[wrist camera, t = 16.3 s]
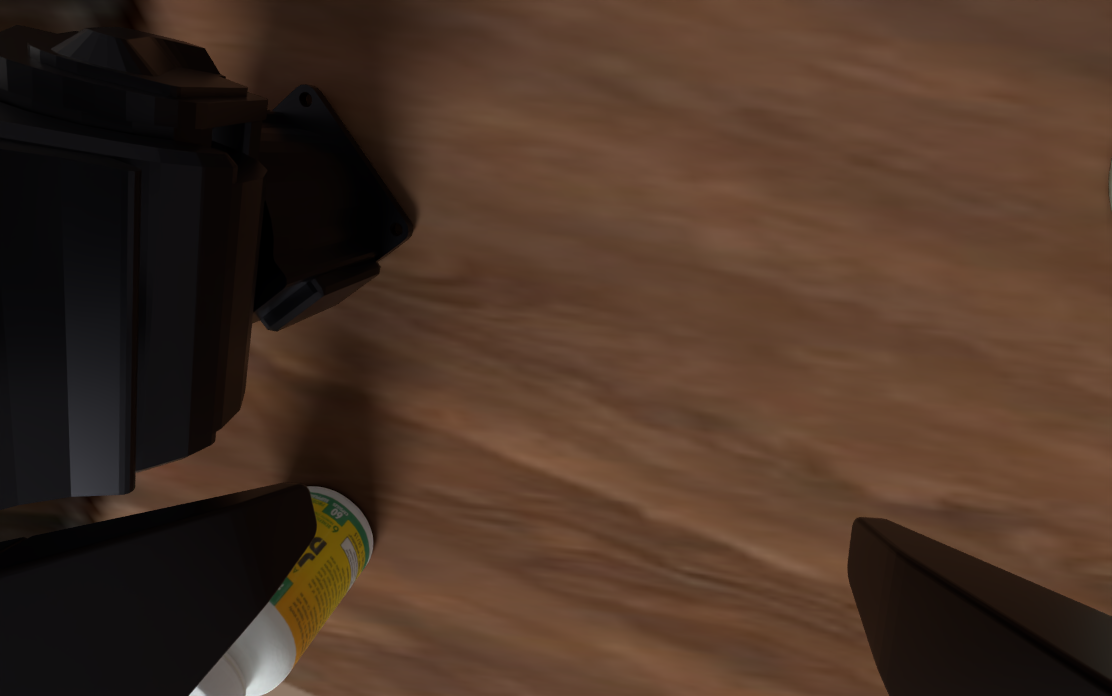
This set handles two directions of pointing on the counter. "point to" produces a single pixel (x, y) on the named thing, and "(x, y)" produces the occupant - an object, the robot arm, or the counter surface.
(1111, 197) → the mat
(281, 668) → the supplement bottle
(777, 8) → the counter surface
